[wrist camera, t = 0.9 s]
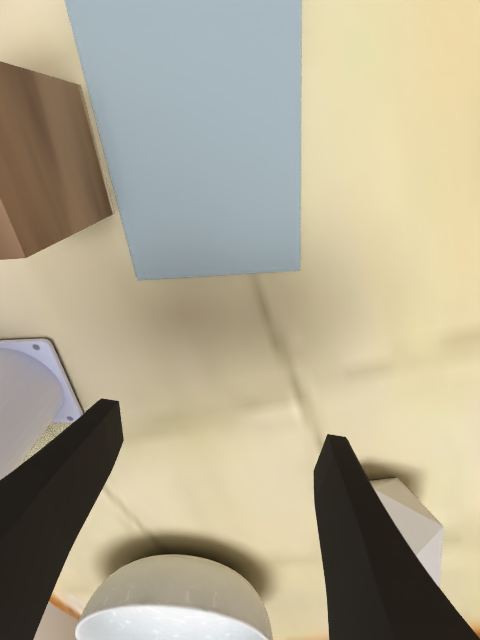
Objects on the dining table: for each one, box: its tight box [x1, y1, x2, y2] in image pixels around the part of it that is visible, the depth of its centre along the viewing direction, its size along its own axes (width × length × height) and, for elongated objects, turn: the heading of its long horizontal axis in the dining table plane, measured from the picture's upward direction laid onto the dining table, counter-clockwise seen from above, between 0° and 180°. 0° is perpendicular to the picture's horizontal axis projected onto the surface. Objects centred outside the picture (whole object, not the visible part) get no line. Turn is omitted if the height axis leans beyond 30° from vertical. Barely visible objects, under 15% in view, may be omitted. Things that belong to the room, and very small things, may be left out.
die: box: [370, 478, 443, 588], centre depth 26 cm, size 8×9×10 cm
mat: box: [65, 0, 301, 280], centre depth 16 cm, size 10×14×1 cm
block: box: [0, 62, 115, 260], centre depth 14 cm, size 4×6×8 cm, turn 5°
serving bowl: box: [75, 554, 273, 640], centre depth 37 cm, size 21×21×7 cm
